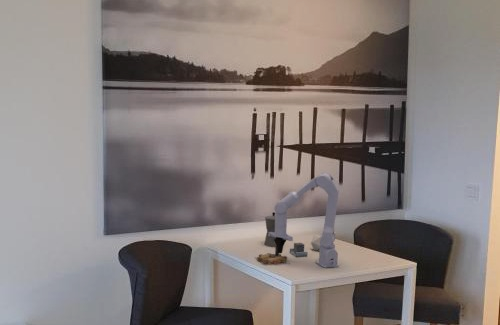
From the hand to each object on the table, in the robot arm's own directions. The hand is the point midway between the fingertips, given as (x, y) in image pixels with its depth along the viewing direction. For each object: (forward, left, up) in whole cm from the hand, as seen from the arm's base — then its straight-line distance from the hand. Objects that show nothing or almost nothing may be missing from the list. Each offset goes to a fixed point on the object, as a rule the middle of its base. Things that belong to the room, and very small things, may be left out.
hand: (279, 252), depth 281 cm
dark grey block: (+6, -13, -3) cm, 15 cm away
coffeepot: (+29, -8, -4) cm, 30 cm away
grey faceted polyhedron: (+14, -28, -4) cm, 31 cm away
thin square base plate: (-1, +5, -3) cm, 6 cm away
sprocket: (-1, +5, -3) cm, 6 cm away
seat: (+7, -13, -3) cm, 15 cm away
